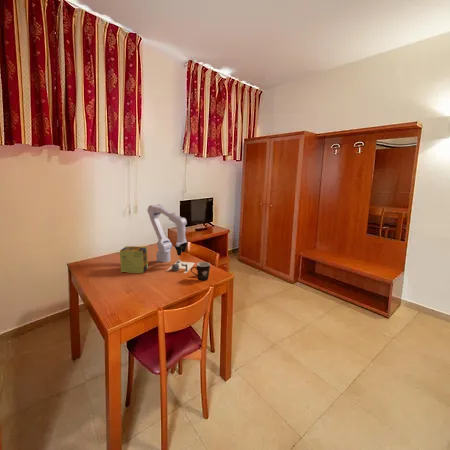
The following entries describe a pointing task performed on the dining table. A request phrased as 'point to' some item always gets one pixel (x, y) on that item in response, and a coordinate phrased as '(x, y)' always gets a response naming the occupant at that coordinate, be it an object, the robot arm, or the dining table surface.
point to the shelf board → (184, 266)
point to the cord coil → (175, 267)
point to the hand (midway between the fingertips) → (181, 253)
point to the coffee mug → (202, 270)
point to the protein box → (133, 259)
